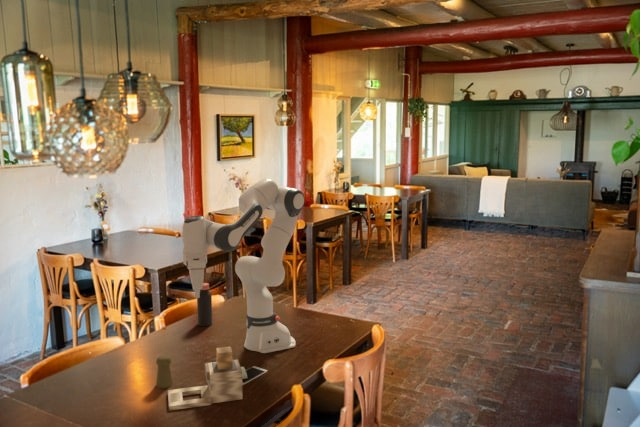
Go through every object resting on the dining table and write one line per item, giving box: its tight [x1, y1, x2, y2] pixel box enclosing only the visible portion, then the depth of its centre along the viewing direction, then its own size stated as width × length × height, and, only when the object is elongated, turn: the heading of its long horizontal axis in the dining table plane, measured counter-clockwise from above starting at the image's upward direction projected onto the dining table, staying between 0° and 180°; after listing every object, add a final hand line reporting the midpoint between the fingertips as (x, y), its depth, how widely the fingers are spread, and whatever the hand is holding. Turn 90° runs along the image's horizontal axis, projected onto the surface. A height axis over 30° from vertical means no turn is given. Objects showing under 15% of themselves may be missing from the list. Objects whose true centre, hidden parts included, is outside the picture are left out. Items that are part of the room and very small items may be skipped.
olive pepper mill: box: [155, 354, 174, 389], centre depth 203 cm, size 6×6×11 cm
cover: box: [204, 362, 247, 384], centre depth 195 cm, size 14×7×4 cm, turn 107°
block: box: [215, 346, 233, 370], centre depth 194 cm, size 5×5×6 cm
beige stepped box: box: [167, 359, 243, 411], centre depth 193 cm, size 25×12×11 cm, turn 107°
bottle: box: [196, 282, 213, 327], centre depth 265 cm, size 7×7×20 cm
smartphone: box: [242, 365, 268, 386], centre depth 212 cm, size 8×1×15 cm
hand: (196, 293), depth 211 cm, fingers open, 8 cm apart
